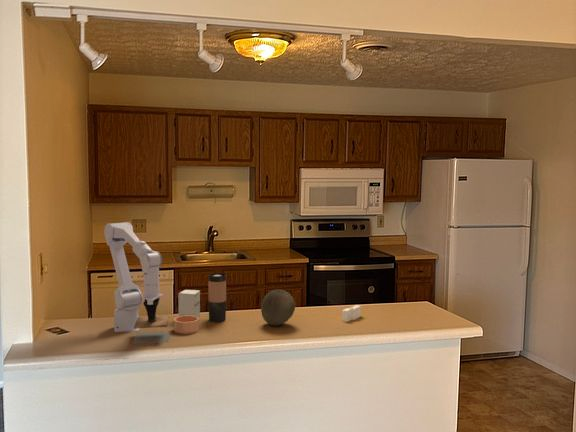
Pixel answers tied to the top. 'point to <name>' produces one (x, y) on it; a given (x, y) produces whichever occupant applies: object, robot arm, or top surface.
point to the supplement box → (189, 303)
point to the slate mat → (151, 337)
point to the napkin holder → (351, 313)
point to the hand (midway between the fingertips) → (151, 318)
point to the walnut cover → (151, 322)
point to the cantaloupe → (277, 307)
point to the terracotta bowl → (186, 324)
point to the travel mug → (217, 297)
